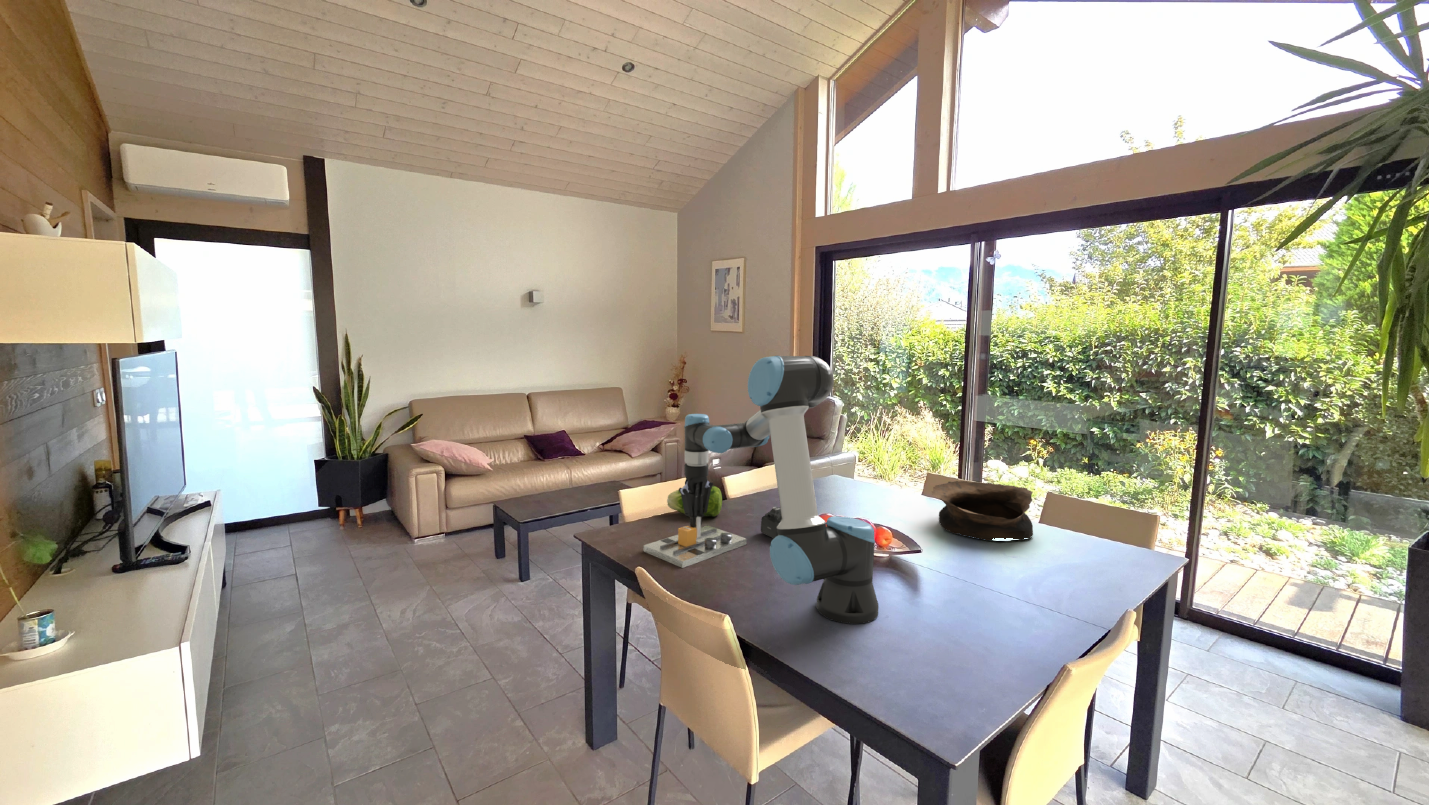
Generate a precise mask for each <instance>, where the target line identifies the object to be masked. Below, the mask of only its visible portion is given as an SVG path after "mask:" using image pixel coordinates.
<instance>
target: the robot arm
mask: <svg viewBox="0 0 1429 805" xmlns="http://www.w3.org/2000/svg"><path fill="white" fill-rule="evenodd" d="M834 383H835V378H834V374H833V370H832V369H831V367H830V365H829V364H828V362H826V361H824V360H823V359H821V358H820V357H818V356H814V355H797V356H796V355H774V356H773V355H772V356H765V357H762V358H759V359H758V360H757V361H756V362H755V363H754V364H753V366H752V367H751V370H750V371H749V374H748V380H747V393H748V397H749V399H750V400H751V402H752V404H754V405H756V406H758V407H760V410H758V411H757V412H756V413H755V414H753V415H752V416H750V418H748V419H747V420H746V421H744V422H739V423H729V424H710V417H709V415H708V414H705V413H691V414H690V413H689V414H687V415H686V416H685V417H684V426H683V429H684V477H685V481H684V485H683V486H682V487H679V488H678V490H679V492H680V493H681V496H682V501H683V507H684V512H685V514H684V516H686V517H689V526H690V527H693V528H696V538H699V537H701V527H702V524H703V519H702V518H703V517H705V516H704V515H705V514H704V513H706V512H707V509H708V503H709V498H710V492H711V489H712V486H714V483H713V482H711V481H709V480H708V476H709V464H708V463H709V462H710V460H709V457H710V456H709V455H710V453H709V452H711V453H714V454H715V453H716V454H724V453H726V452H727V451H728V450H735V449H743V448H745V449H746V448H757V447H761V446H764V445H766V444H767V443H768V442H769V441H768V440H771V441H770V443H771V449H772V455H773V463H774V471H775V477H776V485H777V491H778V499H779V500H778V501H779V507H780V508H781V515H782V520H781V522H780V523H779V525H778V526H777V533H778V536H776V537H775V538H774V539H773V538H772V539H771V542H770V546H769V556H770V560H771V564H772V566H773V568H774V570H775V572H776V573H777V574H778V576H779V577H780V578H781V579H782V580H783V582H785V583H787V584H789V585H792V586H793V585H794V586H799V585H803V584H804V585H807V584H808V585H809V584H811V583H813V582H817V581H821V580H823V582H822V584H821V586H820V589H819V591H818V594H817V596H816V610H817V612H818V613H819V614H820V615H822V616H823V617H825V618H827V619H829V620H831V621H834V622H836V623H837V622H838V623H843V624H850V625H851V624H852V625H856V624H857V625H858V624H859V623H861V624H866V623H870V622H872V621H874V620H875V619H877V618H878V617H879V616H878V615H879V608H880V607H879V602H878V598H877V595H876V591H875V587H874V584H873V574H874V559H875V545H876V540H875V530H874V527H873V525H871V524H870V523H869V522H867V521H865V520H862V519H860V518H859V519H858V518H854V517H848V516H838V515H837V516H835V515H834V516H829V517H828V518H827V520H825V519H823V518H822V517H821V516H820V515H819V514H818V506H817V499H816V493H815V492H816V491H815V487H814V479H813V478H814V477H813V471H812V465H811V458H810V457H811V456H810V451H809V445H808V438H807V430H806V422H805V417H804V416H805V414H806V412H807V411H808V410H809V409H813V408H815V407H817V406H818V405H819V404H821V403H823V401H825V400H826V399H827V398H829V396H830V394H831V392H832V391H833V388H834ZM703 508H704V509H703Z"/></svg>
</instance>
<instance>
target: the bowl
mask: <svg viewBox="0 0 1429 805" xmlns="http://www.w3.org/2000/svg"><path fill="white" fill-rule="evenodd" d="M932 489H933V490H932V491H931V495H932V496H934V497H935V498H936V499H939V500H941V501H942V502H943V504H945V506H943V507H942V509H941V510H939V512H938V523H939V524H940V526H941V527H942V528H943V530H945V531H947V532H948V533H951V532H952V533H951V534H954V533H955V535H960V534H961V535H960V536H963V535H965V537H968V536H970V537H969V538H972V537H974V538H973V539H976V538H979V539H978V540H982V539H985V540H984V541H988V540H992V539H993V538H994V539H995V538H1004V539H1006V538H1013V539H1024V538H1029V539H1031V538H1032V537H1033V535H1034V530H1033V528H1034V527H1033V522H1032V520H1031V519H1030V517H1029V516H1028V514H1027V513H1026V512H1027V511H1028V510H1029V509H1030V504H1031V503H1032V502H1033V498H1032V494H1033V493H1034V492H1033V491H1031V490H1030V489H1029V490H1028V488H1026V487H1022V486H1021V487H1018V486H1016V485H1009V484H1005V485H1004V484H1001V483H997V484H996V483H992V482H981V481H979V482H978V481H977V482H976V481H973V482H972V481H968V480H967V481H965V480H964V481H962V480H960V481H958V480H956V481H948V482H946V483H941V484H936V485H934V486H933V488H932ZM1031 536H1032V537H1031ZM1030 537H1031V538H1030Z"/></svg>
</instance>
